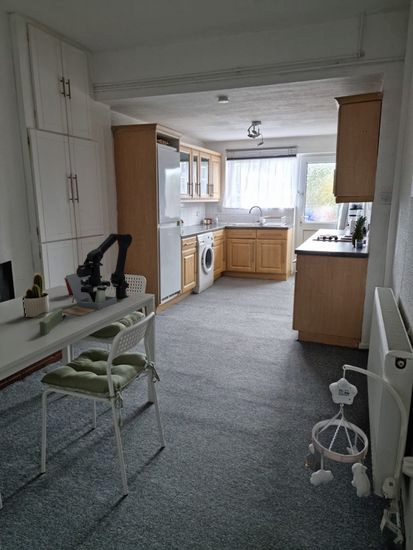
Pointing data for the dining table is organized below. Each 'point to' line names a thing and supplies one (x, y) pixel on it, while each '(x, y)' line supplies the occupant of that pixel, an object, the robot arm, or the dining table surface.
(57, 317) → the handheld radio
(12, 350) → the dining table surface
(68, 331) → the dining table surface
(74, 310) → the board
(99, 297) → the block
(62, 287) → the dining table surface
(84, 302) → the equipment case
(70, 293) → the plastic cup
